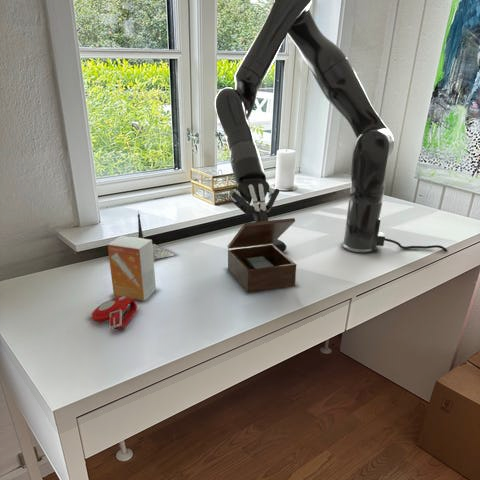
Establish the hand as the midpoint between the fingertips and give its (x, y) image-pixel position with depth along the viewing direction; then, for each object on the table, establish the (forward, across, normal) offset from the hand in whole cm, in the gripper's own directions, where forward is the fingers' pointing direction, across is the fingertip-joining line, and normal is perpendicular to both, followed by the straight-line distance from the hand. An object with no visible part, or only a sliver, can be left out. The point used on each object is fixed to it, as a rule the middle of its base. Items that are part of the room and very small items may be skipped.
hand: (263, 227), depth 113 cm
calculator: (+8, 0, -10) cm, 13 cm away
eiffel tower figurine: (-7, +26, -27) cm, 38 cm away
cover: (+1, 0, -3) cm, 3 cm away
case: (+9, 0, -10) cm, 14 cm away
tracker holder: (+17, +38, -3) cm, 42 cm away
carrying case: (-4, -7, -24) cm, 25 cm away
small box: (+9, +32, -11) cm, 35 cm away
